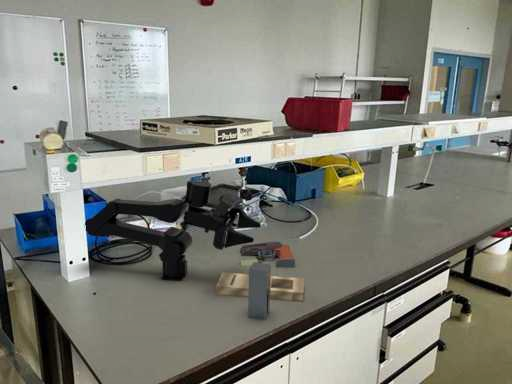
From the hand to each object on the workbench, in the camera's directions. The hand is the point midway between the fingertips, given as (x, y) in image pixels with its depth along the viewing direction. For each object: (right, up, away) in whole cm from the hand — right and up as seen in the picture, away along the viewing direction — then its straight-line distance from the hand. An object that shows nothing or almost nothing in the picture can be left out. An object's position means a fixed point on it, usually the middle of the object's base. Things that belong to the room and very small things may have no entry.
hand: (257, 232), depth 121 cm
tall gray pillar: (0, -20, -12) cm, 23 cm away
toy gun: (+3, -11, +24) cm, 26 cm away
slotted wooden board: (+1, -16, 0) cm, 16 cm away
